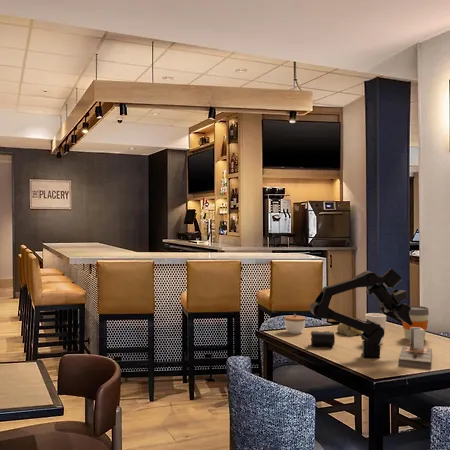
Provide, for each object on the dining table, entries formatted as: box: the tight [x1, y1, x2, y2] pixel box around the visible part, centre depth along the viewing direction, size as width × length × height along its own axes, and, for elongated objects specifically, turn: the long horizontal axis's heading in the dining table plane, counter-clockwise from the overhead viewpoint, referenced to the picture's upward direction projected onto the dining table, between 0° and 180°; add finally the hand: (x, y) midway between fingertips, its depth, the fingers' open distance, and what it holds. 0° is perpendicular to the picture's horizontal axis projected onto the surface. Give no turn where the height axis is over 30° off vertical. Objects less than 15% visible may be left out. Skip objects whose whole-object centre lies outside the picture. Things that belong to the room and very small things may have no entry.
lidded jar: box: [284, 313, 307, 335], centre depth 279 cm, size 11×11×9 cm
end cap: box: [310, 330, 336, 348], centre depth 250 cm, size 10×7×7 cm
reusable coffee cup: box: [401, 305, 430, 341], centre depth 266 cm, size 13×13×15 cm
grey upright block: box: [409, 328, 425, 351], centre depth 232 cm, size 4×5×9 cm
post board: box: [398, 345, 433, 370], centre depth 227 cm, size 24×12×6 cm, turn 158°
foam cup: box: [365, 312, 387, 345], centre depth 257 cm, size 10×9×13 cm
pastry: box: [336, 322, 363, 337], centre depth 278 cm, size 14×12×8 cm
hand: (406, 323), depth 233 cm, fingers open, 9 cm apart
